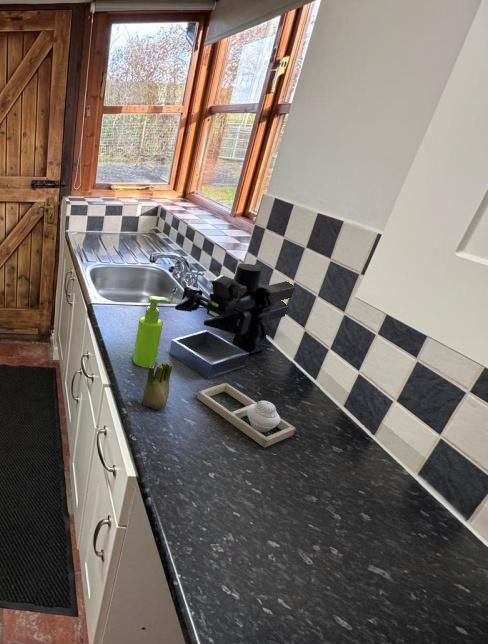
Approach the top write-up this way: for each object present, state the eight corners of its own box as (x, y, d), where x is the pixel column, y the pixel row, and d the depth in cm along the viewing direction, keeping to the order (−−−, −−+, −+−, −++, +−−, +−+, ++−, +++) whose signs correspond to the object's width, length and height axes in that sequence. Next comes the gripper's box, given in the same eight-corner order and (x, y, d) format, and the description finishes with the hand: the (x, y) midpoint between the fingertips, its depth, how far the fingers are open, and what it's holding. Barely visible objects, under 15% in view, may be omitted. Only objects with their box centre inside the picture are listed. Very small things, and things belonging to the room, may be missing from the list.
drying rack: (223, 388, 102) (225, 382, 102) (293, 435, 88) (296, 428, 87) (197, 398, 99) (198, 391, 99) (264, 447, 85) (267, 440, 84)
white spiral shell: (282, 432, 89) (291, 407, 86) (262, 440, 86) (272, 415, 83) (255, 414, 94) (263, 390, 91) (236, 422, 92) (244, 397, 89)
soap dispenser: (160, 369, 111) (173, 303, 102) (134, 366, 112) (144, 301, 103) (157, 357, 116) (168, 294, 107) (131, 354, 117) (141, 292, 109)
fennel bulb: (141, 409, 96) (148, 367, 91) (140, 396, 100) (148, 355, 95) (167, 414, 95) (176, 371, 89) (165, 400, 99) (174, 359, 94)
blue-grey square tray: (203, 343, 122) (207, 329, 120) (244, 367, 111) (249, 352, 109) (169, 353, 118) (171, 339, 116) (208, 379, 106) (211, 364, 104)
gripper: (210, 264, 113) (167, 273, 108) (275, 289, 98) (228, 301, 92) (202, 300, 118) (160, 310, 113) (263, 329, 102) (217, 343, 97)
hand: (189, 315), depth 104 cm, fingers open, 9 cm apart
